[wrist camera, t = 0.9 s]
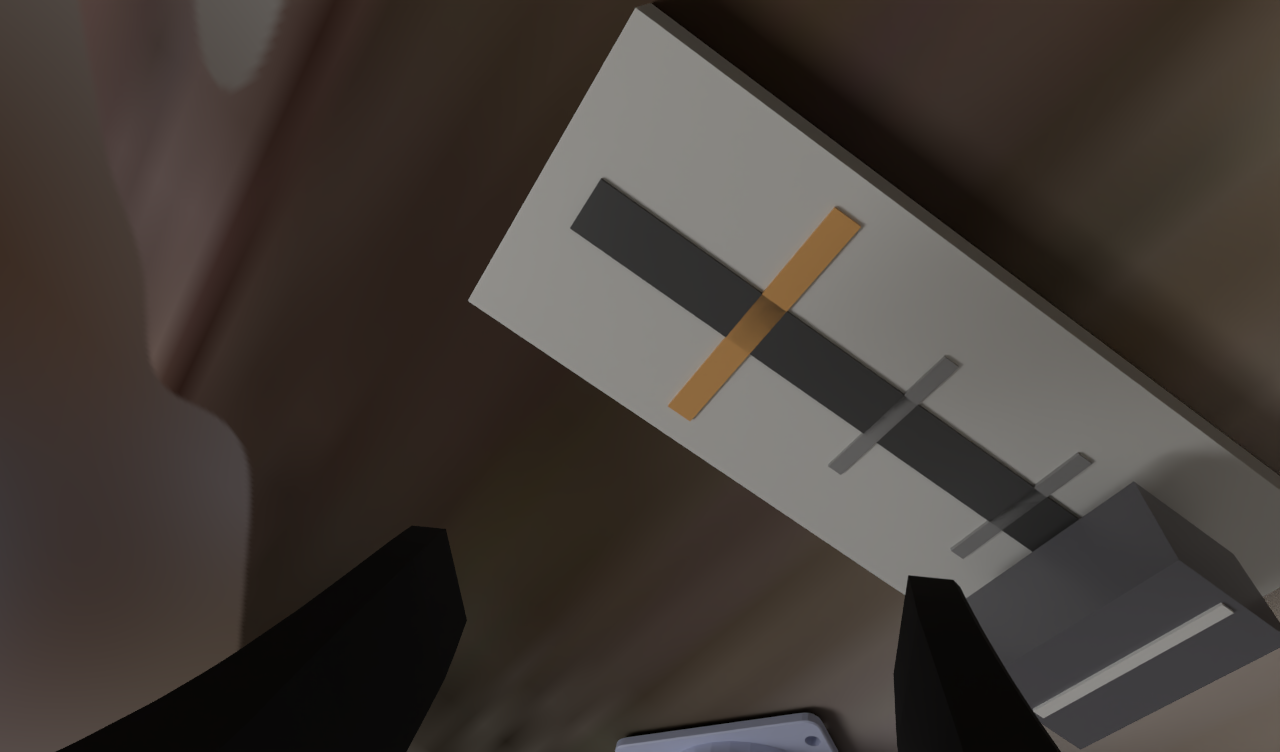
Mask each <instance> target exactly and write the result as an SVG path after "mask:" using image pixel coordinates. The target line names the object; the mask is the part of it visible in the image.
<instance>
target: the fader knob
mask: <svg viewBox="0 0 1280 752" xmlns="http://www.w3.org/2000/svg"><path fill="white" fill-rule="evenodd" d="M966 599H967V601H968V603H969V605H970V607H971V609H972V611H973V613H974V615H975V617H976V618H977V620H978V622H979V624H980V626H981V627H982V629H983V631H984V633H985V634H986V636H987V638H988V640H989V641H990V643H991V645H992V646H993V648H994V650H995V652H996V653H997V655H998V657H999V658H1000V660H1001V662H1002V663H1003V665H1004V667H1005V668H1006V670H1007V671H1008V673H1009V675H1010V676H1011V678H1012V680H1013V681H1014V683H1015V684H1016V686H1017V687H1018V689H1019V690H1020V692H1021V693H1022V695H1023V696H1024V698H1025V699H1026V701H1027V703H1028V704H1029V706H1030V707H1031V709H1032V710H1033V712H1034V713H1035V715H1036V716H1037V718H1038V719H1039V721H1040V722H1041V723H1042V724H1043V725H1045V726H1046V727H1048V728H1049V729H1051V730H1052V731H1054V732H1055V733H1057V734H1058V735H1060V736H1061V737H1063V738H1064V739H1066V740H1067V741H1069V742H1070V743H1072V744H1073V745H1075V746H1076V747H1078V748H1079V749H1082V748H1084V747H1086V746H1088V745H1090V744H1092V743H1094V742H1096V741H1098V740H1100V739H1102V738H1104V737H1106V736H1108V735H1110V734H1112V733H1114V732H1116V731H1118V730H1119V729H1121V728H1123V727H1125V726H1127V725H1129V724H1131V723H1133V722H1135V721H1137V720H1139V719H1141V718H1143V717H1145V716H1147V715H1149V714H1151V713H1153V712H1155V711H1157V710H1159V709H1161V708H1163V707H1164V706H1166V705H1168V704H1170V703H1172V702H1174V701H1176V700H1178V699H1180V698H1182V697H1184V696H1186V695H1188V694H1190V693H1192V692H1194V691H1196V690H1198V689H1200V688H1202V687H1204V686H1206V685H1208V684H1210V683H1211V682H1213V681H1215V680H1217V679H1219V678H1221V677H1223V676H1225V675H1227V674H1229V673H1231V672H1233V671H1235V670H1237V669H1239V668H1241V667H1243V666H1245V665H1247V664H1249V663H1251V662H1253V661H1255V660H1257V659H1258V658H1260V657H1262V656H1264V655H1266V654H1268V653H1270V652H1272V651H1274V650H1276V649H1278V648H1280V622H1279V621H1278V619H1277V618H1276V616H1275V615H1274V613H1273V612H1272V610H1271V609H1270V607H1269V606H1268V604H1267V603H1266V601H1265V600H1264V598H1263V597H1262V595H1261V594H1260V592H1259V591H1258V590H1257V588H1256V587H1255V585H1254V584H1253V582H1252V581H1251V579H1250V578H1249V576H1248V575H1247V573H1246V572H1245V570H1244V569H1243V567H1242V566H1241V564H1240V563H1239V561H1238V560H1237V558H1236V557H1235V555H1234V554H1233V553H1231V552H1230V551H1229V550H1227V549H1226V548H1225V547H1223V546H1222V545H1220V544H1219V543H1218V542H1216V541H1215V540H1214V539H1212V538H1211V537H1209V536H1208V535H1207V534H1205V533H1204V532H1203V531H1201V530H1200V529H1199V528H1197V527H1196V526H1194V525H1193V524H1192V523H1190V522H1189V521H1188V520H1186V519H1185V518H1183V517H1182V516H1181V515H1179V514H1178V513H1177V512H1175V511H1174V510H1172V509H1171V508H1170V507H1168V506H1167V505H1166V504H1164V503H1163V502H1161V501H1160V500H1159V499H1157V498H1156V497H1155V496H1153V495H1152V494H1150V493H1149V492H1148V491H1146V490H1145V489H1144V488H1142V487H1141V486H1139V485H1138V484H1137V483H1135V482H1134V481H1133V482H1132V483H1131V484H1129V485H1128V486H1126V487H1125V488H1123V489H1122V490H1121V491H1119V492H1118V493H1116V494H1115V495H1113V496H1112V497H1111V498H1109V499H1108V500H1106V501H1105V502H1103V503H1102V504H1101V505H1099V506H1098V507H1096V508H1095V509H1093V510H1092V511H1090V512H1089V513H1088V514H1086V515H1085V516H1083V517H1082V518H1080V519H1079V520H1078V521H1076V522H1075V523H1073V524H1072V525H1070V526H1069V527H1068V528H1066V529H1065V530H1063V531H1062V532H1060V533H1059V534H1058V535H1056V536H1055V537H1053V538H1052V539H1050V540H1049V541H1048V542H1046V543H1045V544H1043V545H1042V546H1040V547H1039V548H1038V549H1036V550H1035V551H1033V552H1032V553H1030V554H1029V555H1027V556H1026V557H1025V558H1023V559H1022V560H1020V561H1019V562H1017V563H1016V564H1015V565H1013V566H1012V567H1010V568H1009V569H1007V570H1006V571H1005V572H1003V573H1002V574H1000V575H999V576H997V577H996V578H995V579H993V580H992V581H990V582H989V583H987V584H986V585H985V586H983V587H982V588H980V589H979V590H977V591H976V592H975V593H973V594H972V595H970V596H969V597H967V598H966Z"/></svg>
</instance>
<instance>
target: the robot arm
mask: <svg viewBox="0 0 1280 752" xmlns="http://www.w3.org/2000/svg"><path fill="white" fill-rule="evenodd" d="M466 621H467V619H466V615H465V610H464V606H463V602H462V597H461V593H460V589H459V584H458V580H457V576H456V571H455V567H454V563H453V558H452V554H451V550H450V545H449V541H448V537H447V532H446V529H440V528H430V527H420V526H411V527H409V528H408V529H406V530H405V531H404V532H402V533H401V534H399V535H398V536H397V537H395V538H394V539H392V540H391V541H390V542H388V543H387V544H386V545H384V546H383V547H382V548H380V549H379V550H378V551H376V552H375V553H374V554H372V555H371V556H370V557H368V558H367V559H366V560H364V561H363V562H362V563H360V564H359V565H358V566H356V567H355V568H354V569H352V570H351V571H350V572H348V573H347V574H346V575H345V576H343V577H342V578H340V579H339V580H338V581H336V582H335V583H334V584H332V585H331V586H330V587H328V588H327V589H326V590H324V591H323V592H322V593H320V594H319V595H317V596H316V597H315V598H313V599H312V600H311V601H309V602H308V603H307V604H305V605H304V606H303V607H301V608H300V609H298V610H297V611H296V612H294V613H293V614H291V615H290V616H288V617H287V618H285V619H284V620H282V621H281V622H280V623H278V624H277V625H275V626H274V627H272V628H271V629H269V630H268V631H266V632H265V633H264V634H262V635H261V636H259V637H258V638H256V639H255V640H253V641H252V642H250V643H249V644H247V645H246V646H245V647H243V648H242V649H240V650H239V651H237V652H236V653H234V654H233V655H231V656H229V657H228V658H226V659H225V660H223V661H222V662H220V663H218V664H217V665H215V666H214V667H212V668H210V669H209V670H207V671H206V672H204V673H202V674H201V675H199V676H197V677H195V678H194V679H192V680H190V681H189V682H187V683H185V684H184V685H182V686H180V687H178V688H177V689H175V690H173V691H172V692H170V693H168V694H167V695H165V696H163V697H161V698H160V699H158V700H156V701H154V702H152V703H150V704H149V705H147V706H145V707H143V708H141V709H139V710H137V711H135V712H133V713H131V714H130V715H127V716H126V717H124V718H122V719H120V720H118V721H116V722H114V723H112V724H110V725H108V726H106V727H104V728H103V729H101V730H99V731H97V732H95V733H93V734H91V735H89V736H87V737H85V738H83V739H81V740H79V741H77V742H75V743H73V744H71V745H69V746H67V747H65V748H63V749H60V750H58V751H56V752H406V751H407V750H408V748H409V746H410V744H411V742H412V740H413V738H414V736H415V735H416V733H417V731H418V729H419V727H420V725H421V723H422V721H423V720H424V718H425V716H426V714H427V712H428V710H429V708H430V706H431V704H432V702H433V700H434V699H435V697H436V695H437V693H438V691H439V689H440V687H441V685H442V683H443V681H444V679H445V677H446V674H447V672H448V669H449V666H450V664H451V661H452V659H453V656H454V654H455V651H456V649H457V646H458V643H459V640H460V637H461V635H462V632H463V629H464V626H465V624H466ZM894 692H895V714H896V733H897V747H898V752H1061V751H1060V750H1059V748H1058V747H1057V746H1056V744H1055V743H1054V741H1053V740H1052V738H1051V737H1050V735H1049V734H1048V733H1047V731H1046V730H1045V728H1044V727H1043V725H1042V724H1041V722H1040V721H1039V719H1038V718H1037V716H1036V715H1035V713H1034V712H1033V710H1032V709H1031V707H1030V706H1029V704H1028V703H1027V701H1026V699H1025V698H1024V696H1023V695H1022V693H1021V692H1020V690H1019V689H1018V687H1017V686H1016V684H1015V683H1014V681H1013V680H1012V678H1011V676H1010V675H1009V673H1008V671H1007V670H1006V668H1005V667H1004V665H1003V663H1002V662H1001V660H1000V658H999V657H998V655H997V653H996V652H995V650H994V648H993V646H992V645H991V643H990V641H989V640H988V638H987V636H986V634H985V633H984V631H983V629H982V627H981V626H980V624H979V622H978V620H977V618H976V617H975V615H974V613H973V611H972V609H971V607H970V605H969V603H968V601H967V599H966V597H965V596H964V594H963V591H962V589H961V587H960V586H959V585H958V584H957V583H956V582H955V581H954V580H951V579H941V578H931V577H921V576H911V575H908V580H907V586H906V593H905V600H904V607H903V614H902V621H901V627H900V634H899V641H898V648H897V655H896V662H895V668H894ZM615 752H838V750H837V748H836V746H835V744H834V742H833V741H832V739H831V737H830V735H829V733H828V731H827V730H826V728H825V726H824V724H823V722H822V720H821V719H820V718H819V717H818V716H816V715H814V714H812V713H796V714H789V715H782V716H775V717H767V718H760V719H753V720H746V721H739V722H732V723H725V724H718V725H711V726H703V727H696V728H689V729H682V730H675V731H668V732H661V733H654V734H647V735H640V736H632V737H625V738H622V739H620V740H619V741H618V742H617V746H616V750H615Z"/></svg>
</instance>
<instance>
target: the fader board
mask: <svg viewBox="0 0 1280 752" xmlns="http://www.w3.org/2000/svg"><path fill="white" fill-rule="evenodd" d="M468 301H469V302H470V303H472V304H473V305H475V306H476V307H478V308H479V309H481V310H482V311H484V312H485V313H487V314H488V315H490V316H491V317H493V318H494V319H496V320H497V321H499V322H500V323H502V324H503V325H504V326H506V327H507V328H509V329H510V330H512V331H513V332H515V333H516V334H518V335H519V336H521V337H522V338H524V339H525V340H527V341H528V342H530V343H531V344H533V345H534V346H536V347H537V348H539V349H540V350H542V351H543V352H545V353H546V354H548V355H549V356H551V357H552V358H553V359H555V360H556V361H558V362H559V363H561V364H562V365H564V366H565V367H567V368H568V369H570V370H571V371H573V372H574V373H576V374H577V375H579V376H580V377H582V378H583V379H585V380H586V381H588V382H589V383H591V384H592V385H594V386H595V387H597V388H598V389H600V390H601V391H603V392H604V393H605V394H607V395H608V396H610V397H611V398H613V399H614V400H616V401H617V402H619V403H620V404H622V405H623V406H625V407H626V408H628V409H629V410H631V411H632V412H634V413H635V414H637V415H638V416H640V417H641V418H643V419H644V420H646V421H647V422H649V423H650V424H652V425H653V426H654V427H656V428H657V429H659V430H660V431H662V432H663V433H665V434H666V435H668V436H669V437H671V438H672V439H674V440H675V441H677V442H678V443H680V444H681V445H683V446H684V447H686V448H687V449H689V450H690V451H692V452H693V453H695V454H696V455H698V456H699V457H701V458H702V459H703V460H705V461H706V462H708V463H709V464H711V465H712V466H714V467H715V468H717V469H718V470H720V471H721V472H723V473H724V474H726V475H727V476H729V477H730V478H732V479H733V480H735V481H736V482H738V483H739V484H741V485H742V486H744V487H745V488H747V489H748V490H750V491H751V492H752V493H754V494H755V495H757V496H758V497H760V498H761V499H763V500H764V501H766V502H767V503H769V504H770V505H772V506H773V507H775V508H776V509H778V510H779V511H781V512H782V513H784V514H785V515H787V516H788V517H790V518H791V519H793V520H794V521H796V522H797V523H799V524H800V525H802V526H803V527H804V528H806V529H807V530H809V531H810V532H812V533H813V534H815V535H816V536H818V537H819V538H821V539H822V540H824V541H825V542H827V543H828V544H830V545H831V546H833V547H834V548H836V549H837V550H839V551H840V552H842V553H843V554H845V555H846V556H848V557H849V558H851V559H852V560H853V561H855V562H856V563H858V564H859V565H861V566H862V567H864V568H865V569H867V570H868V571H870V572H871V573H873V574H874V575H876V576H877V577H879V578H880V579H882V580H883V581H885V582H886V583H888V584H889V585H891V586H892V587H894V588H895V589H897V590H898V591H900V592H901V593H902V594H904V595H905V593H906V586H907V580H908V575H911V576H921V577H931V578H941V579H951V580H954V581H955V582H956V583H957V584H958V585H959V586H960V587H961V589H962V591H963V594H964V596H965V597H966V598H967V597H969V596H970V595H972V594H973V593H975V592H976V591H977V590H979V589H980V588H982V587H983V586H985V585H986V584H987V583H989V582H990V581H992V580H993V579H995V578H996V577H997V576H999V575H1000V574H1002V573H1003V572H1005V571H1006V570H1007V569H1009V568H1010V567H1012V566H1013V565H1015V564H1016V563H1017V562H1019V561H1020V560H1022V559H1023V558H1025V557H1026V556H1027V555H1029V554H1030V553H1032V552H1033V551H1035V550H1036V549H1038V548H1039V547H1040V546H1042V545H1043V544H1045V543H1046V542H1048V541H1049V540H1050V539H1052V538H1053V537H1055V536H1056V535H1058V534H1059V533H1060V532H1062V531H1063V530H1065V529H1066V528H1068V527H1069V526H1070V525H1072V524H1073V523H1075V522H1076V521H1078V520H1079V519H1080V518H1082V517H1083V516H1085V515H1086V514H1088V513H1089V512H1090V511H1092V510H1093V509H1095V508H1096V507H1098V506H1099V505H1101V504H1102V503H1103V502H1105V501H1106V500H1108V499H1109V498H1111V497H1112V496H1113V495H1115V494H1116V493H1118V492H1119V491H1121V490H1122V489H1123V488H1125V487H1126V486H1128V485H1129V484H1131V483H1132V482H1133V481H1134V482H1135V483H1137V484H1138V485H1139V486H1141V487H1142V488H1144V489H1145V490H1146V491H1148V492H1149V493H1150V494H1152V495H1153V496H1155V497H1156V498H1157V499H1159V500H1160V501H1161V502H1163V503H1164V504H1166V505H1167V506H1168V507H1170V508H1171V509H1172V510H1174V511H1175V512H1177V513H1178V514H1179V515H1181V516H1182V517H1183V518H1185V519H1186V520H1188V521H1189V522H1190V523H1192V524H1193V525H1194V526H1196V527H1197V528H1199V529H1200V530H1201V531H1203V532H1204V533H1205V534H1207V535H1208V536H1209V537H1211V538H1212V539H1214V540H1215V541H1216V542H1218V543H1219V544H1220V545H1222V546H1223V547H1225V548H1226V549H1227V550H1229V551H1230V552H1231V553H1233V554H1234V555H1235V557H1236V558H1237V560H1238V561H1239V563H1240V564H1241V566H1242V567H1243V569H1244V570H1245V572H1246V573H1247V575H1248V576H1249V578H1250V579H1251V581H1252V582H1253V584H1254V585H1255V587H1256V588H1257V590H1258V591H1259V592H1260V594H1261V595H1262V597H1264V596H1265V595H1267V594H1269V593H1271V592H1273V591H1274V590H1276V589H1278V588H1280V476H1279V475H1278V474H1277V473H1275V472H1274V471H1273V470H1271V469H1270V468H1269V467H1267V466H1266V465H1265V464H1263V463H1262V462H1261V461H1259V460H1258V459H1257V458H1255V457H1254V456H1253V455H1251V454H1250V453H1249V452H1247V451H1246V450H1245V449H1243V448H1242V447H1241V446H1239V445H1238V444H1237V443H1235V442H1234V441H1233V440H1231V439H1230V438H1229V437H1227V436H1226V435H1225V434H1223V433H1222V432H1221V431H1219V430H1218V429H1217V428H1215V427H1214V426H1213V425H1211V424H1210V423H1209V422H1207V421H1206V420H1205V419H1203V418H1202V417H1201V416H1199V415H1198V414H1197V413H1195V412H1194V411H1193V410H1191V409H1190V408H1189V407H1187V406H1186V405H1185V404H1183V403H1182V402H1181V401H1179V400H1178V399H1177V398H1175V397H1174V396H1173V395H1171V394H1170V393H1169V392H1168V391H1166V390H1165V389H1164V388H1162V387H1161V386H1160V385H1158V384H1157V383H1156V382H1154V381H1153V380H1152V379H1150V378H1149V377H1148V376H1146V375H1145V374H1144V373H1142V372H1141V371H1140V370H1138V369H1137V368H1136V367H1134V366H1133V365H1132V364H1130V363H1129V362H1128V361H1126V360H1125V359H1124V358H1122V357H1121V356H1120V355H1118V354H1117V353H1116V352H1114V351H1113V350H1112V349H1110V348H1109V347H1108V346H1106V345H1105V344H1104V343H1102V342H1101V341H1100V340H1098V339H1097V338H1096V337H1094V336H1093V335H1092V334H1090V333H1089V332H1088V331H1086V330H1085V329H1084V328H1082V327H1081V326H1080V325H1078V324H1077V323H1076V322H1074V321H1073V320H1072V319H1070V318H1069V317H1068V316H1066V315H1065V314H1064V313H1062V312H1061V311H1060V310H1058V309H1057V308H1056V307H1054V306H1053V305H1052V304H1050V303H1049V302H1048V301H1046V300H1045V299H1044V298H1042V297H1041V296H1040V295H1038V294H1037V293H1036V292H1034V291H1033V290H1032V289H1030V288H1029V287H1028V286H1027V285H1025V284H1024V283H1023V282H1021V281H1020V280H1019V279H1017V278H1016V277H1015V276H1013V275H1012V274H1011V273H1009V272H1008V271H1007V270H1005V269H1004V268H1003V267H1001V266H1000V265H999V264H997V263H996V262H995V261H993V260H992V259H991V258H989V257H988V256H987V255H985V254H984V253H983V252H981V251H980V250H979V249H977V248H976V247H975V246H973V245H972V244H971V243H969V242H968V241H967V240H965V239H964V238H963V237H961V236H960V235H959V234H957V233H956V232H955V231H953V230H952V229H951V228H949V227H948V226H947V225H945V224H944V223H943V222H941V221H940V220H939V219H937V218H936V217H935V216H933V215H932V214H931V213H929V212H928V211H927V210H925V209H924V208H923V207H921V206H920V205H919V204H917V203H916V202H915V201H913V200H912V199H911V198H909V197H908V196H907V195H905V194H904V193H903V192H901V191H900V190H899V189H897V188H896V187H895V186H893V185H892V184H891V183H889V182H888V181H887V180H886V179H884V178H883V177H882V176H880V175H879V174H878V173H876V172H875V171H874V170H872V169H871V168H870V167H868V166H867V165H866V164H864V163H863V162H862V161H860V160H859V159H858V158H856V157H855V156H854V155H852V154H851V153H850V152H848V151H847V150H846V149H844V148H843V147H842V146H840V145H839V144H838V143H836V142H835V141H834V140H832V139H831V138H830V137H828V136H827V135H826V134H824V133H823V132H822V131H820V130H819V129H818V128H816V127H815V126H814V125H812V124H811V123H810V122H808V121H807V120H806V119H804V118H803V117H802V116H800V115H799V114H798V113H796V112H795V111H794V110H792V109H791V108H790V107H788V106H787V105H786V104H784V103H783V102H782V101H780V100H779V99H778V98H776V97H775V96H774V95H772V94H771V93H770V92H768V91H767V90H766V89H764V88H763V87H762V86H760V85H759V84H758V83H756V82H755V81H754V80H752V79H751V78H750V77H748V76H747V75H746V74H745V73H743V72H742V71H741V70H739V69H738V68H737V67H735V66H734V65H733V64H731V63H730V62H729V61H727V60H726V59H725V58H723V57H722V56H721V55H719V54H718V53H717V52H715V51H714V50H713V49H711V48H710V47H709V46H707V45H706V44H705V43H703V42H702V41H701V40H699V39H698V38H697V37H695V36H694V35H693V34H691V33H690V32H689V31H687V30H686V29H685V28H683V27H682V26H681V25H679V24H678V23H677V22H675V21H674V20H673V19H671V18H670V17H669V16H667V15H666V14H665V13H663V12H662V11H661V10H659V9H658V8H657V7H655V6H654V5H653V4H651V3H649V4H646V5H643V6H639V7H636V8H635V10H634V12H633V13H632V15H631V17H630V19H629V20H628V22H627V24H626V26H625V27H624V29H623V31H622V33H621V34H620V36H619V38H618V40H617V41H616V43H615V45H614V47H613V48H612V50H611V52H610V54H609V55H608V57H607V59H606V60H605V62H604V64H603V66H602V67H601V69H600V71H599V73H598V74H597V76H596V78H595V80H594V81H593V83H592V85H591V87H590V88H589V90H588V92H587V94H586V95H585V97H584V99H583V101H582V102H581V104H580V106H579V108H578V109H577V111H576V113H575V115H574V116H573V118H572V120H571V122H570V123H569V125H568V127H567V129H566V130H565V132H564V134H563V136H562V137H561V139H560V141H559V143H558V144H557V146H556V148H555V149H554V151H553V153H552V155H551V156H550V158H549V160H548V162H547V163H546V165H545V167H544V169H543V170H542V172H541V174H540V176H539V177H538V179H537V181H536V183H535V184H534V186H533V188H532V190H531V191H530V193H529V195H528V197H527V198H526V200H525V202H524V204H523V205H522V207H521V209H520V211H519V212H518V214H517V216H516V218H515V219H514V221H513V223H512V225H511V226H510V228H509V230H508V232H507V233H506V235H505V237H504V239H503V240H502V242H501V244H500V245H499V247H498V249H497V251H496V252H495V254H494V256H493V258H492V259H491V261H490V263H489V265H488V266H487V268H486V270H485V272H484V273H483V275H482V277H481V279H480V280H479V282H478V284H477V286H476V287H475V289H474V291H473V293H472V294H471V296H470V298H469V300H468Z"/></svg>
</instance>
